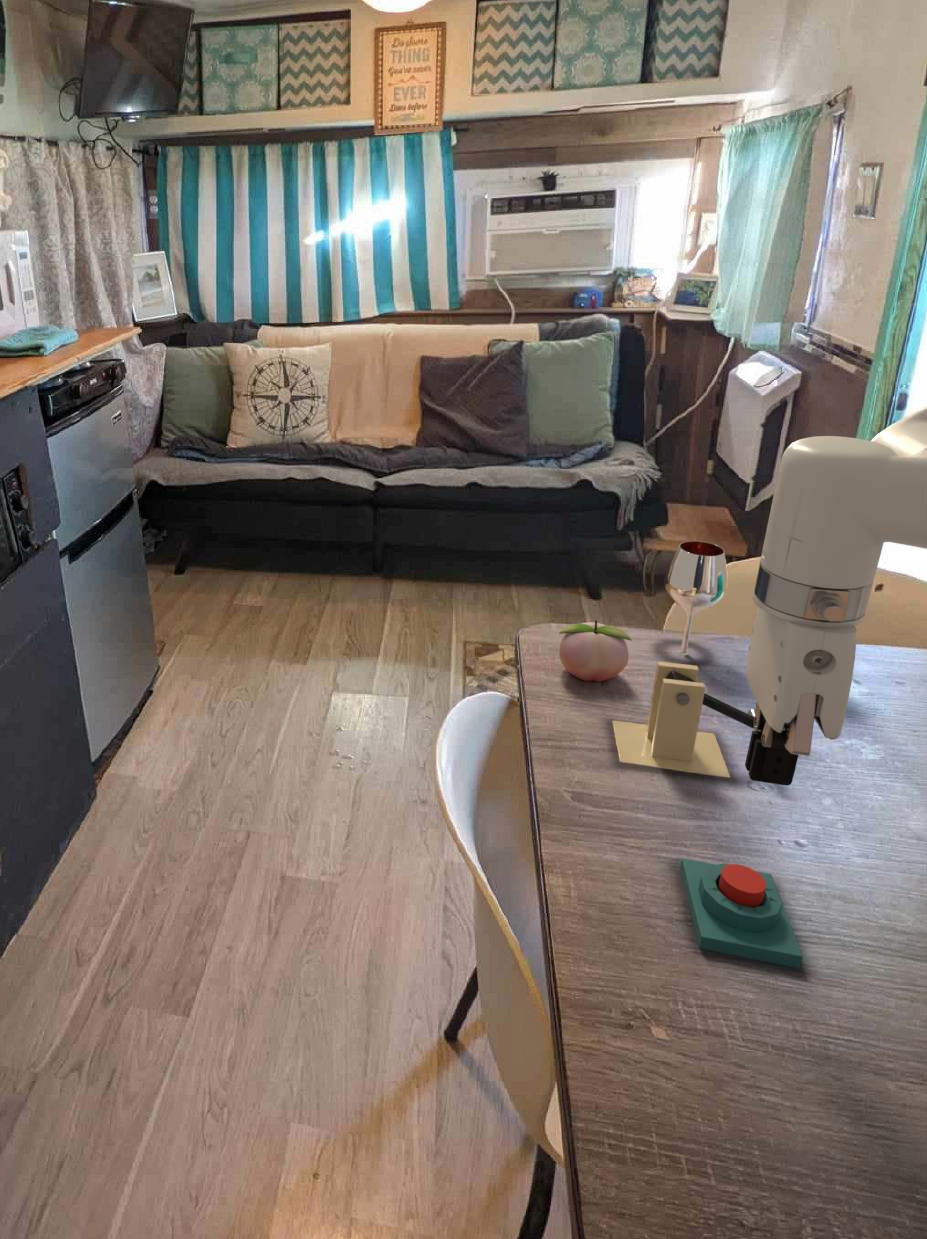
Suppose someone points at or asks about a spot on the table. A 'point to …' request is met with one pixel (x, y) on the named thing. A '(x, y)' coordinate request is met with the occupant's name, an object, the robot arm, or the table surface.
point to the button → (742, 885)
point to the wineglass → (696, 580)
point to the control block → (738, 918)
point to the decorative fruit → (593, 651)
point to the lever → (720, 704)
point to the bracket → (672, 728)
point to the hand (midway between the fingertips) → (767, 776)
